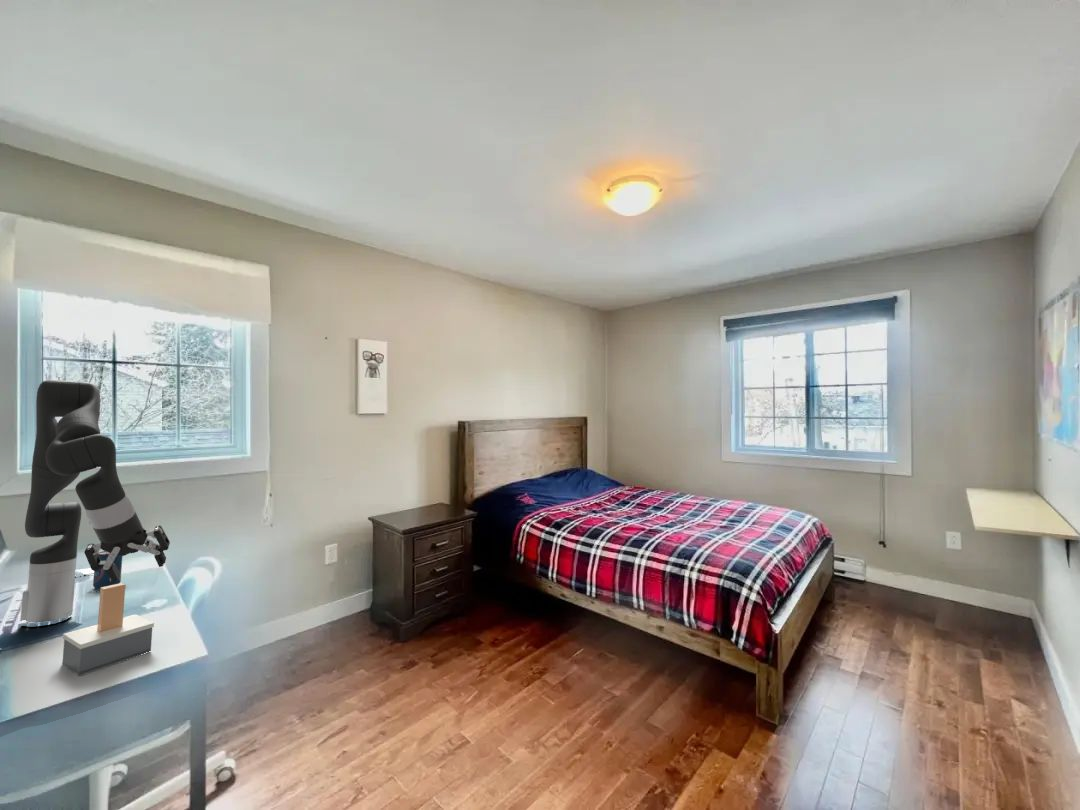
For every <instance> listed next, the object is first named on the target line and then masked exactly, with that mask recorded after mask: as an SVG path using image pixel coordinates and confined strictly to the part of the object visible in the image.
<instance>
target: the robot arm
mask: <svg viewBox="0 0 1080 810" xmlns="http://www.w3.org/2000/svg"><path fill="white" fill-rule="evenodd" d="M100 393H101V392H100V388H98V386H97V385H96V384H95V383H93V382H88V381H76V380H75V381H73V380H61V379H60V380H57V379H50V380H48V379H47V380H43V381H42V382H41V383H40V384H39V386H38V388H37V391H36V397H35V398H36V401H35V403H36V404H35V407H36V411H35V412H36V413H35V414H36V415H35V416H36V421H35V423H36V424H35V425H36V427H35V429H36V431H35V443H34V449H33V455H32V460H31V461H32V464H31V478H30V479H31V485H30V486H31V487H30V494H29V499H28V505H27V510H26V515H25V521H24V530H25V531H24V532H25V533H26V535H27V536H28V537H30V538H35V539H36V538H38V539H39V538H47V537H48V538H49V537H56V536H57V537H58V536H61V538H60V539H58V541H55V542H54V543H52V544H50V545H47V546H44V547H42V548H38V549H36V550H34V551H32V552H31V553H30V556H29V566H28V567H29V568H28V578H27V580H28V581H27V590H24V591H23V592H22V595H21V596H22V597H21V598H22V599H21V608H20V609H21V610H20V621H22V620H26V621H29V622H44V621H53V620H58V619H62V618H66V617H68V616H71V615H72V616H73V611H74V597H75V587H76V586H75V583H76V578H75V572H76V570H77V557H78V556H77V555H78V543H79V542H78V541H79V533H80V527H81V520H82V507H81V505H82V506H83V508H84V510H85V515H86V517H87V520H88V523H89V524H90V525H91V527H92V529H93V530H94V533H95V534H96V536H97V538H98V540H99V542H100V543H97V544H95V543H89V544H87V546H86V548H85V550H84V551H83V553H84V555H85V557H86V559H87V562H88V564H89V568H91V569H92V570H93V571H96V570H98V569H104V570H106V572H107V574H108V576H109V578H110V579H114V581H115V580H119V578H120V572H119V570H118V568H117V566H116V564H115V563H113V561H114V559H115V558H116V556H122V557H124V556H127V555H129V554H135V553H138V552H139V551H141V552H143V553H144V554H145V553H147V554H151V555H154V559H155V561H156V564H157V566H158V567H159V568H161V567H164V565H165V563H166V561H167V557H166V554H165V552H164V551H168V549H169V546H170V544H171V542H170V539H169V537H168V536H167V534H166V532H165V530H164V529H163V526H161V525H158V524H157V525H156V526H155V527H154V528H152V529H148V530H146V529H145V528H144V527H143V525H142V523H141V521H140V518H139V516H138V513H137V512H136V510H135V508H134V506H133V504H132V501H131V500H130V498H129V497H128V495H127V494H126V492H125V489H124V488H123V485H122V484H121V481H120V478H119V476H118V469H117V450H116V449H117V448H116V445H115V442H114V441H113V439H111V438H110V437H109V436H107V435H105V434H102V433H101V430H100V426H99V420H100V414H101V413H100V411H101V394H100ZM60 417H61V418H60ZM56 418H60V419H59V420H58V421H57V419H56ZM97 468H99V470H98V471H96V472H95V473H94V474H91V475H89V476H87V477H85V478H84V479H83V478H82V480H80V481H79V482H78V483H77V484H76V485H75V492H76V495H77V497H78V499H79V500H80V501H81V502H80V503H81V504H80V503H79V502H76V501H69V502H56V503H55V502H53V503H49V502H50V501H52V499H53V498H54V497H55V496H56V495H57V494H59V493H60V492H61V491H62V490H64V489H65V488H67V487H69V485H71V484H72V483H74V481H75V480H76V479H77V478H78V477H79V476H80V474H81V473H83V472H86V471H90V470H93V469H97ZM148 537H151V538H153V539H156V541H157V543H156V542H154V541H153V540H152V539H149V538H148ZM100 550H102V551H107V552H109V553H110V554H109V556H108V558H107V560H106V561H101V559H100V556H99V554H98V553H99V552H101V551H100ZM20 621H19V622H20Z"/></svg>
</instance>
